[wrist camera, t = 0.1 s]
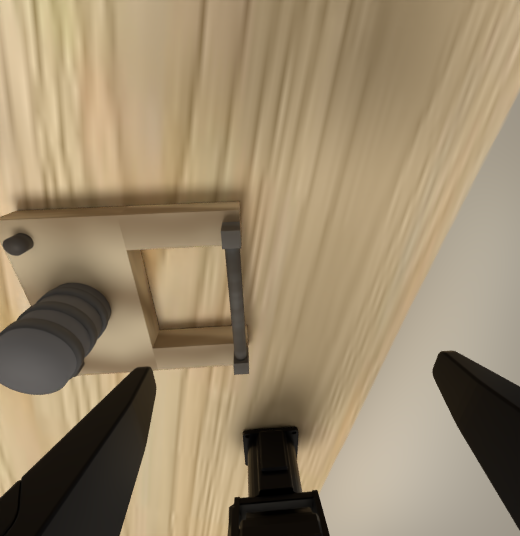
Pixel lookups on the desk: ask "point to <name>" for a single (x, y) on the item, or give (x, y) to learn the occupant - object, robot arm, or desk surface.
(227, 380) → the desk surface
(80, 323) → the stacked grey discs
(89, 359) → the wooden handle frame
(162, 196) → the desk surface
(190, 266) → the desk surface
